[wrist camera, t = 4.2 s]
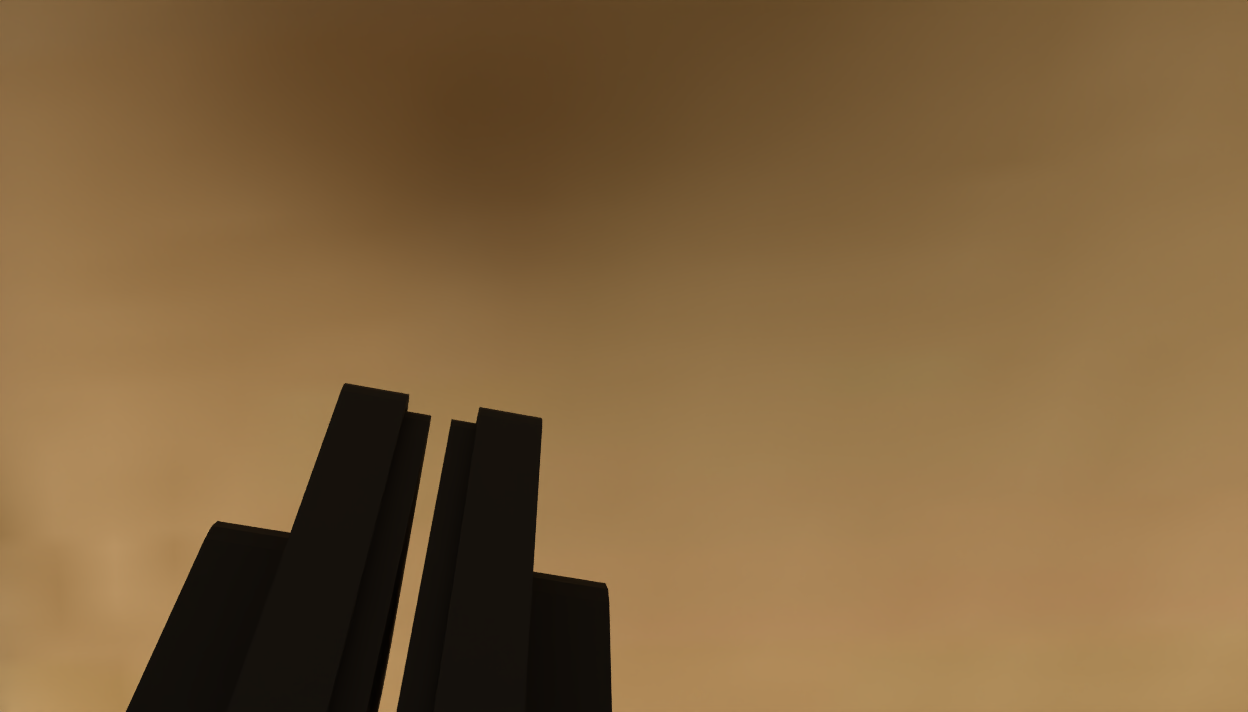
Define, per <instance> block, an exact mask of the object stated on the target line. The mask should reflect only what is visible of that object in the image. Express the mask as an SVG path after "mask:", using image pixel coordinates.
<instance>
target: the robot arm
mask: <svg viewBox="0 0 1248 712" xmlns="http://www.w3.org/2000/svg"><path fill="white" fill-rule="evenodd" d="M408 403H409V394H404V393H398V392H392V391H387V390H381V389H375V388H370V387H364V386H359V385H353V384H347V383H345V384H344V385H343V387H342V390H341V392H340V395H339V398H338V401H337V404H336V406H335V409H334V412H333V415H332V418H331V421H330V423H329V426H328V429H327V432H326V435H325V437H324V440H323V443H322V446H321V449H320V451H319V454H318V457H317V460H316V463H315V465H314V468H313V471H312V474H311V477H310V479H309V482H308V485H307V488H306V491H305V493H304V496H303V499H302V502H301V505H300V507H299V510H298V513H297V516H296V519H295V522H294V524H293V527H292V530H291V533H288V532H282V531H276V530H270V529H263V528H257V527H251V526H245V525H239V524H232V523H226V522H220V521H217V522H216V523H215V524H214V525H212V527H211V528H210V530H209V532H208V534H207V536H206V538H205V539H204V542H203V544H202V546H201V548H200V550H199V553H198V555H197V557H196V559H195V561H194V564H193V566H192V568H191V570H190V572H189V575H188V577H187V579H186V581H185V583H184V586H183V588H182V590H181V592H180V594H179V596H178V599H177V601H176V603H175V605H174V607H173V610H172V612H171V614H170V616H169V618H168V621H167V623H166V625H165V627H164V629H163V632H162V634H161V636H160V638H159V640H158V643H157V645H156V647H155V649H154V651H153V653H152V656H151V658H150V660H149V662H148V664H147V667H146V669H145V671H144V673H143V675H142V678H141V680H140V682H139V684H138V686H137V689H136V691H135V693H134V695H133V697H132V700H131V702H130V704H129V706H128V708H127V710H126V712H378V709H379V704H380V700H381V695H382V690H383V685H384V680H385V675H386V669H387V664H388V659H389V653H390V648H391V642H392V637H393V631H394V625H395V620H396V614H397V608H398V603H399V597H400V591H401V586H402V580H403V574H404V569H405V563H406V557H407V552H408V546H409V540H410V535H411V529H412V523H413V518H414V512H415V506H416V500H417V495H418V489H419V483H420V478H421V472H422V466H423V461H424V455H425V449H426V444H427V438H428V432H429V427H430V420H431V416H430V415H425V414H419V413H413V412H408V411H407V410H408ZM541 436H542V418H538V417H533V416H527V415H521V414H516V413H510V412H505V411H499V410H493V409H488V408H482V407H480V408H479V412H478V416H477V421H476V423H470V422H464V421H459V420H453V419H452V420H451V426H450V431H449V436H448V442H447V447H446V452H445V457H444V463H443V468H442V473H441V479H440V484H439V489H438V495H437V500H436V505H435V510H434V516H433V521H432V526H431V532H430V537H429V542H428V548H427V553H426V558H425V564H424V569H423V574H422V579H421V585H420V590H419V595H418V601H417V606H416V611H415V617H414V622H413V627H412V633H411V638H410V643H409V648H408V654H407V659H406V664H405V670H404V675H403V680H402V686H401V691H400V696H399V702H398V707H397V712H612V695H611V655H610V614H609V595H608V588H607V586H606V584H605V583H600V582H594V581H588V580H582V579H575V578H569V577H563V576H557V575H551V574H544V573H538V572H533V565H534V549H535V533H536V517H537V501H538V485H539V469H540V453H541Z"/></svg>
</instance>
